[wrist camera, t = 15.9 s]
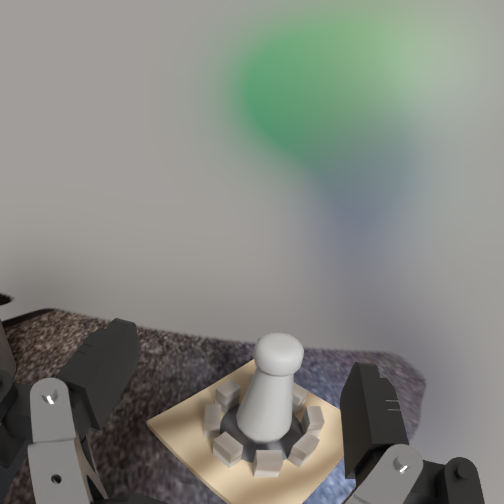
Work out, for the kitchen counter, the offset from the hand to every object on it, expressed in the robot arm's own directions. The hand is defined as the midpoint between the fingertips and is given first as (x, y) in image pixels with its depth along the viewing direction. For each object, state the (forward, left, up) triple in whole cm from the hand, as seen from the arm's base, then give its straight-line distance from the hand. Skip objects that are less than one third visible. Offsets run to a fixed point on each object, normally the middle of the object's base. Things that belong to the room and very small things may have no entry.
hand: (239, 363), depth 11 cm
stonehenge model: (-6, +12, -23) cm, 27 cm away
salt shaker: (-6, +12, -22) cm, 26 cm away
